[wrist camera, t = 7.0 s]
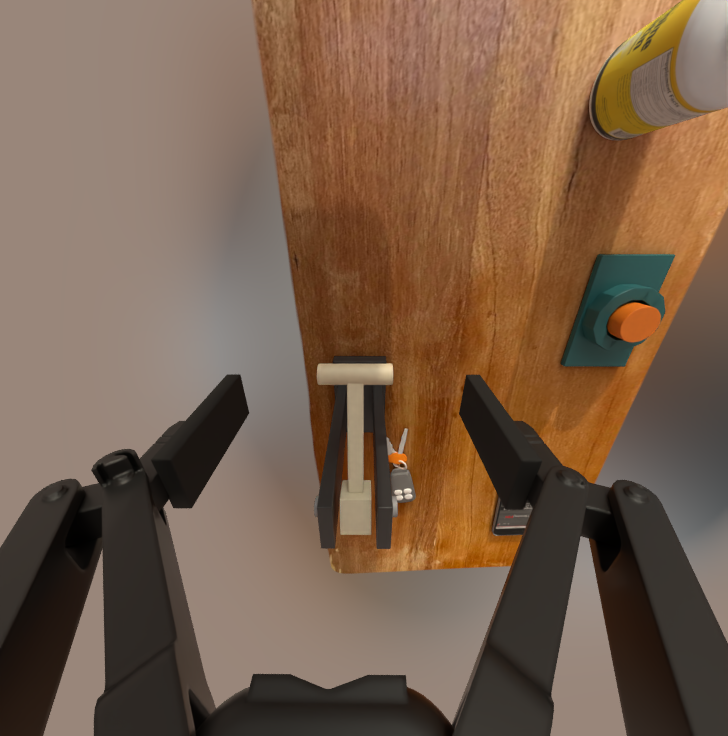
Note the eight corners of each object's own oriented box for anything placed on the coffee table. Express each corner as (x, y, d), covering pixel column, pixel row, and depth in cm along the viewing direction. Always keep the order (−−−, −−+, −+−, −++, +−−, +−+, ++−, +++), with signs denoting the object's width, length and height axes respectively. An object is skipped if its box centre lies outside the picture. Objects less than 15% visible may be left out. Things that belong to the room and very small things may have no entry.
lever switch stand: (334, 356, 33) (304, 476, 17) (385, 356, 33) (403, 476, 17) (337, 425, 38) (317, 570, 22) (383, 425, 38) (395, 571, 22)
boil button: (614, 301, 28) (629, 306, 27) (651, 302, 28) (668, 306, 26) (601, 336, 30) (614, 342, 28) (636, 336, 30) (651, 342, 28)
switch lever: (321, 361, 20) (315, 366, 18) (391, 360, 20) (394, 367, 18) (325, 511, 23) (320, 534, 20) (388, 512, 23) (390, 535, 20)
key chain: (416, 494, 43) (418, 502, 42) (392, 496, 44) (393, 505, 42) (407, 426, 38) (408, 434, 36) (379, 430, 38) (379, 438, 37)
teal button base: (597, 254, 28) (617, 256, 26) (669, 254, 28) (695, 256, 26) (560, 363, 33) (574, 373, 31) (620, 364, 33) (638, 374, 31)
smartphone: (560, 466, 39) (538, 534, 46) (557, 462, 40) (535, 530, 47) (507, 468, 40) (492, 535, 46) (504, 464, 40) (490, 531, 47)
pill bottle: (683, 23, 21) (993, -174, 11) (660, 132, 24) (888, 61, 13) (589, 49, 22) (796, -114, 11) (578, 152, 24) (735, 98, 14)
